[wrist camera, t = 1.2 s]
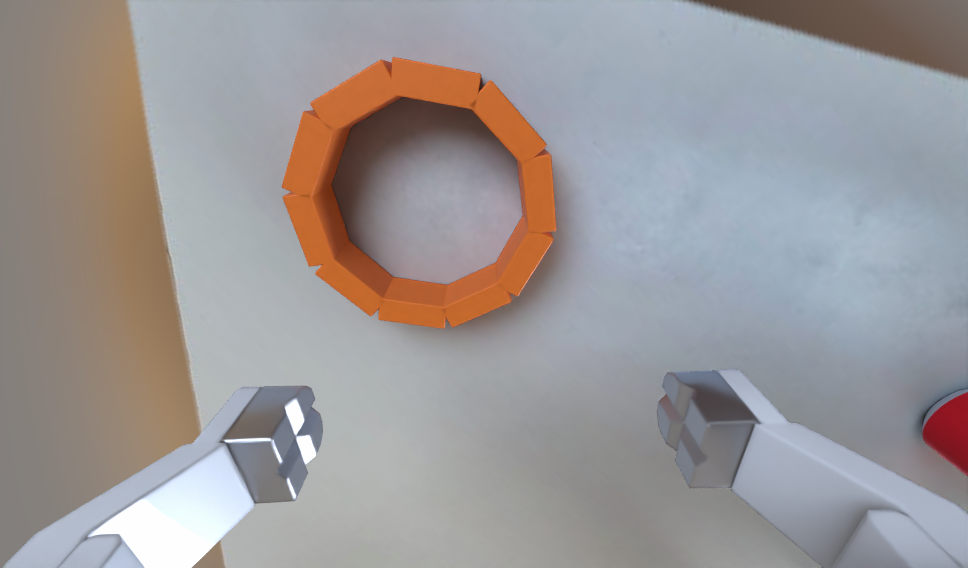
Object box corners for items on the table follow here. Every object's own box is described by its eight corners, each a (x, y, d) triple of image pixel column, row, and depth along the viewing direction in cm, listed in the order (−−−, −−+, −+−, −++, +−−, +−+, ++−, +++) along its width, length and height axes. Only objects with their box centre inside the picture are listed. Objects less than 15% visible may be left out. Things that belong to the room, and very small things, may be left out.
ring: (413, -7, 17) (402, -23, 15) (596, 203, 22) (611, 218, 19) (259, 195, 21) (230, 209, 19) (439, 339, 25) (434, 366, 23)
